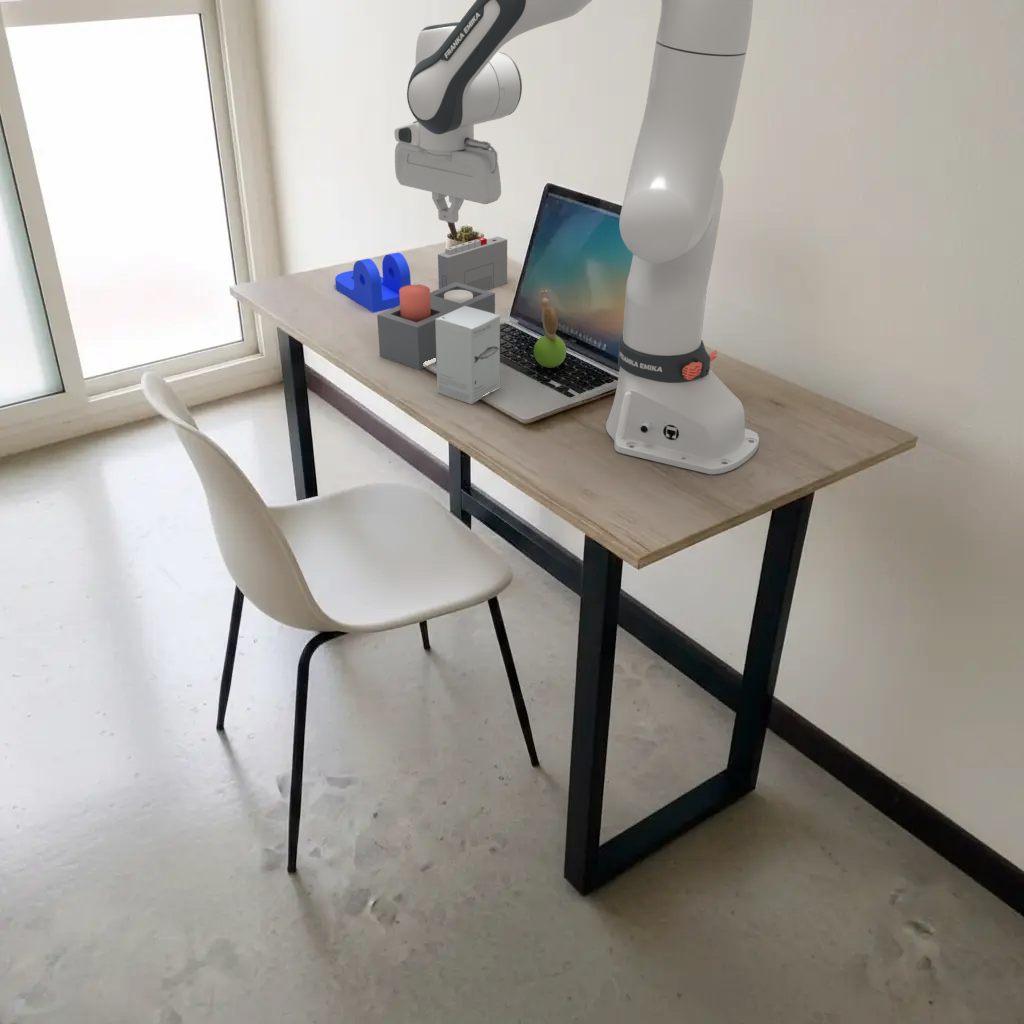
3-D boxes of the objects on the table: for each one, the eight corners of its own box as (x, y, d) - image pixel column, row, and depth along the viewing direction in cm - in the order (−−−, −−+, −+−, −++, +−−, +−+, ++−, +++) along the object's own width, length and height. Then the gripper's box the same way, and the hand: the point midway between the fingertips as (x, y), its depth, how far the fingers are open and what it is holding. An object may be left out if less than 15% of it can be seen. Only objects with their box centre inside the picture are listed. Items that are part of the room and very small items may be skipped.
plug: (479, 329, 187) (478, 294, 183) (460, 337, 183) (460, 302, 180) (457, 322, 189) (456, 287, 186) (439, 330, 186) (438, 295, 182)
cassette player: (497, 280, 211) (497, 231, 206) (507, 284, 209) (507, 234, 204) (439, 300, 201) (437, 249, 196) (448, 303, 200) (447, 252, 195)
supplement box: (472, 405, 163) (471, 329, 156) (436, 393, 167) (433, 317, 160) (501, 389, 168) (501, 314, 161) (465, 377, 172) (464, 303, 165)
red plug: (437, 326, 177) (436, 289, 174) (417, 335, 174) (415, 297, 170) (415, 319, 180) (413, 282, 176) (395, 328, 176) (393, 290, 173)
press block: (494, 333, 187) (494, 293, 183) (419, 370, 174) (417, 327, 170) (456, 321, 192) (455, 282, 188) (379, 356, 179) (377, 314, 175)
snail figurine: (557, 355, 179) (559, 288, 173) (570, 370, 174) (573, 301, 168) (527, 359, 178) (528, 291, 171) (539, 374, 173) (541, 305, 166)
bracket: (411, 304, 200) (409, 258, 195) (373, 313, 196) (370, 266, 191) (365, 277, 212) (362, 233, 207) (328, 285, 208) (324, 241, 203)
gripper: (509, 140, 163) (509, 228, 171) (413, 122, 174) (417, 205, 182) (483, 147, 159) (484, 237, 166) (386, 128, 170) (391, 213, 177)
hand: (448, 220), depth 174 cm, fingers closed
